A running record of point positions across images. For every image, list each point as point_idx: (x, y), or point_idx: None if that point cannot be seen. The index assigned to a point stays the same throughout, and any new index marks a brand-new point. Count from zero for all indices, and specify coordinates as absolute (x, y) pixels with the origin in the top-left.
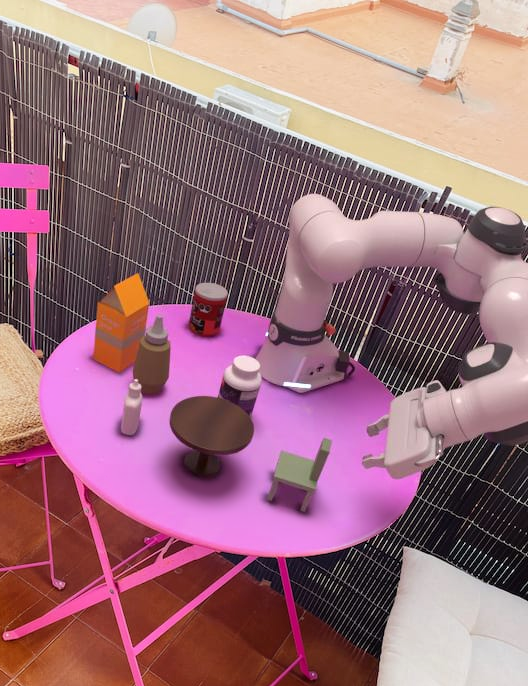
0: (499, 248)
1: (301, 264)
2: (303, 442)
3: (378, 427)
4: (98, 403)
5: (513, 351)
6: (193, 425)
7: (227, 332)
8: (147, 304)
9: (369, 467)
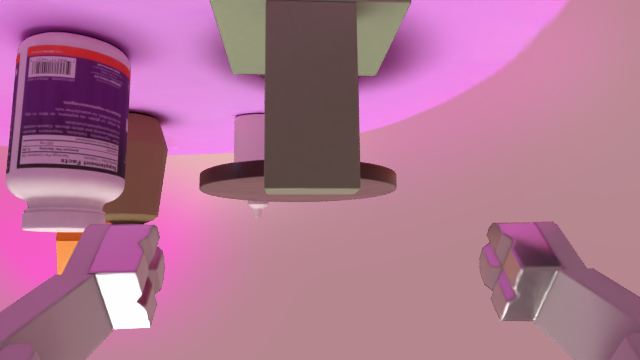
0: None
1: None
2: None
3: (94, 309)
4: (229, 134)
5: None
6: (328, 195)
7: None
8: (63, 240)
9: (563, 241)
